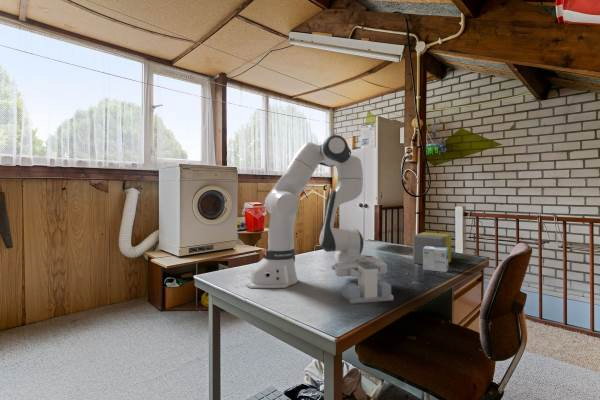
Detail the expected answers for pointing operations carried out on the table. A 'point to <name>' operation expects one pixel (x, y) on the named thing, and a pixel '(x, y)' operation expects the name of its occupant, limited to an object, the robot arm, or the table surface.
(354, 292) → the mounted modules
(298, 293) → the table surface
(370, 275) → the block
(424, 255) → the light bulb box
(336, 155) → the robot arm
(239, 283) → the table surface
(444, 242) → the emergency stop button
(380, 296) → the grey flat base plate
